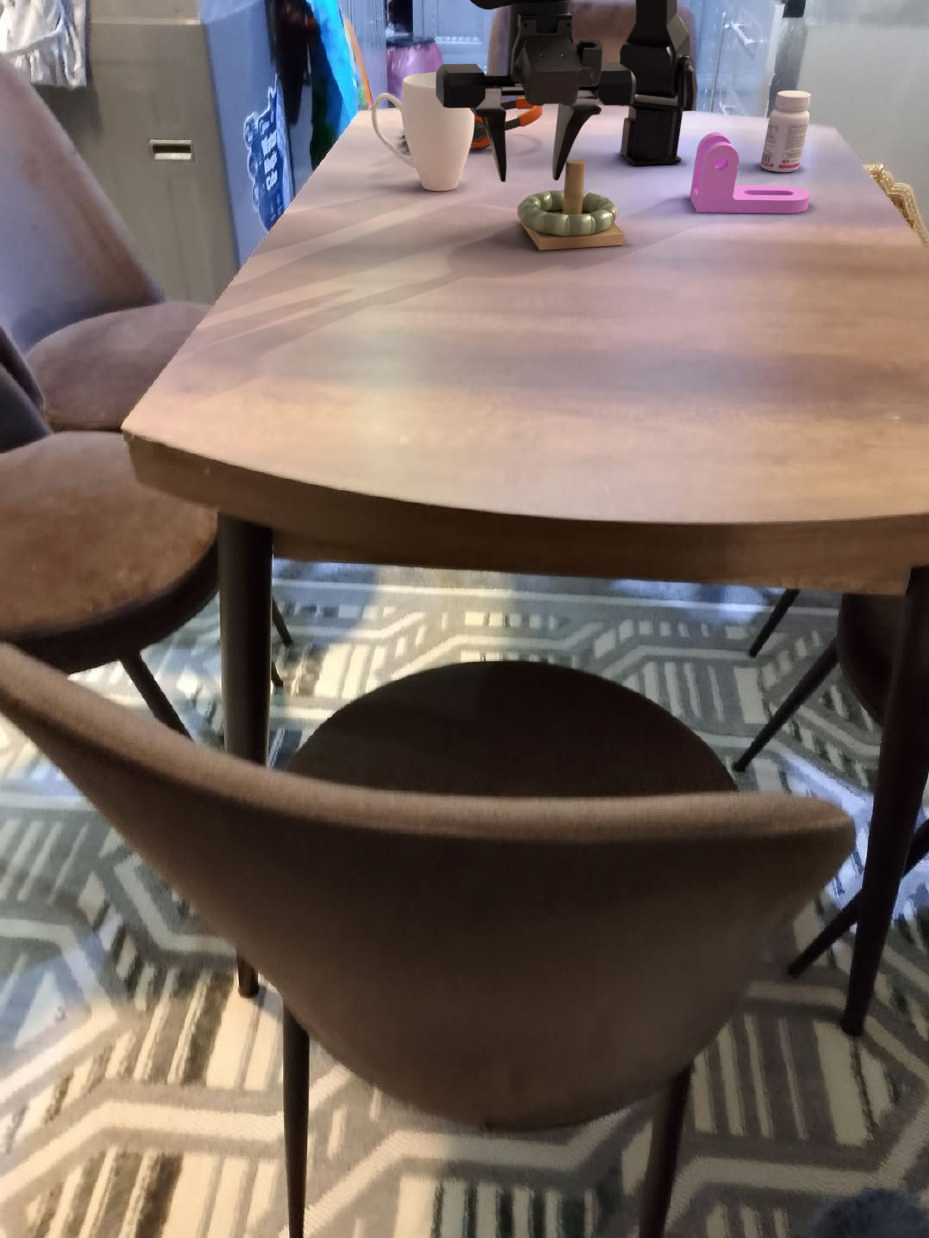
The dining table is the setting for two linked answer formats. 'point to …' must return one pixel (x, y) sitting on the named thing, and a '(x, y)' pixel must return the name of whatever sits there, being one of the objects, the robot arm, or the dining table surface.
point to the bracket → (723, 196)
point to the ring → (566, 225)
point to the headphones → (480, 134)
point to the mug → (430, 132)
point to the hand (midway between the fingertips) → (529, 180)
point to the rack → (574, 207)
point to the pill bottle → (786, 132)
